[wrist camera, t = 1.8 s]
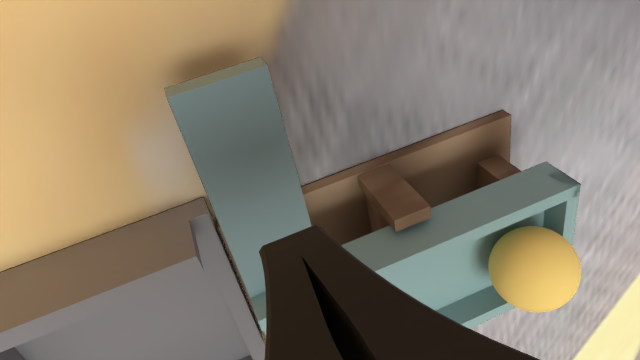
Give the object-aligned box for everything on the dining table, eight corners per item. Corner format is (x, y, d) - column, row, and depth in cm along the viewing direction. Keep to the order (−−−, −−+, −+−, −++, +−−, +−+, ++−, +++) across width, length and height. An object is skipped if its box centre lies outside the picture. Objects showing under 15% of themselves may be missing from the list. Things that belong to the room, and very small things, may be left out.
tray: (203, 197, 21) (217, 247, 18) (267, 349, 27) (286, 404, 24) (-54, 292, 19) (-83, 365, 16) (78, 432, 25) (74, 503, 22)
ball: (541, 198, 22) (608, 247, 19) (537, 256, 24) (596, 308, 21) (470, 228, 21) (527, 284, 18) (472, 285, 23) (523, 343, 20)
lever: (562, -42, 17) (609, -34, 15) (538, 257, 25) (567, 283, 24) (164, 88, 14) (171, 114, 13) (282, 372, 23) (295, 410, 21)
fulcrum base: (503, 110, 24) (567, 148, 21) (500, 231, 29) (552, 279, 25) (215, 219, 21) (234, 283, 18) (263, 333, 26) (286, 401, 23)
